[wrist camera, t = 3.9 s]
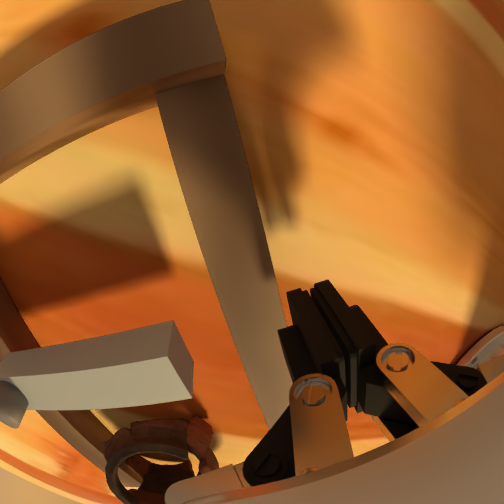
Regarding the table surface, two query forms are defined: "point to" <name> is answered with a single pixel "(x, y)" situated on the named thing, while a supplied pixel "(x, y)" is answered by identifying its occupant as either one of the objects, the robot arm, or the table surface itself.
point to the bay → (187, 167)
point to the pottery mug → (157, 441)
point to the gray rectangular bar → (97, 373)
